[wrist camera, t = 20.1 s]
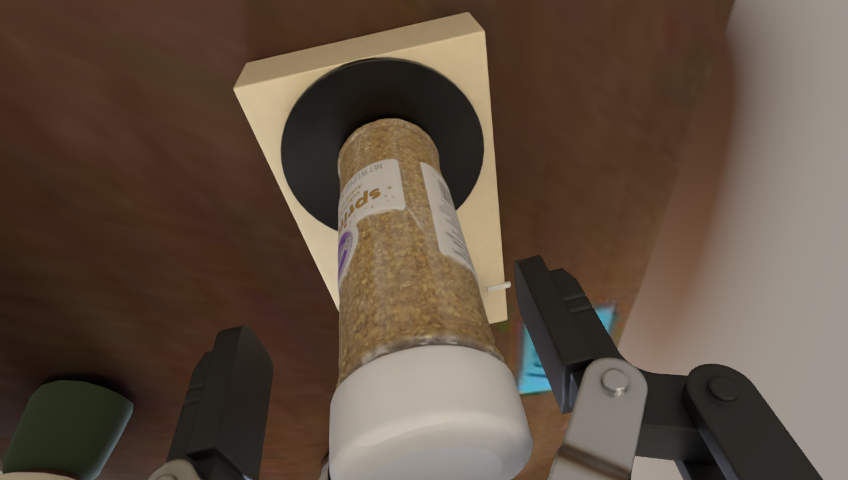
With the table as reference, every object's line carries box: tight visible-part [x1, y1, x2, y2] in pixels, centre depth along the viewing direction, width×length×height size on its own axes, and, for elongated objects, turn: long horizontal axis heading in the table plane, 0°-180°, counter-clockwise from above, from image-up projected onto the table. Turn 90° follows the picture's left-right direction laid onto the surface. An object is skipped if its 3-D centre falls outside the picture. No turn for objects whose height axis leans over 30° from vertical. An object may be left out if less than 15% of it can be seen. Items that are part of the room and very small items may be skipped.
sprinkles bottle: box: [329, 118, 533, 480], centre depth 15 cm, size 5×5×14 cm
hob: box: [233, 12, 511, 324], centre depth 24 cm, size 19×10×3 cm, turn 10°
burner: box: [280, 57, 484, 231], centre depth 20 cm, size 9×9×1 cm
